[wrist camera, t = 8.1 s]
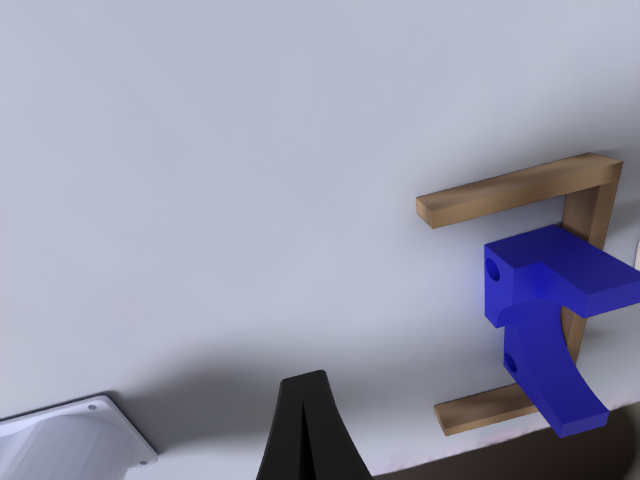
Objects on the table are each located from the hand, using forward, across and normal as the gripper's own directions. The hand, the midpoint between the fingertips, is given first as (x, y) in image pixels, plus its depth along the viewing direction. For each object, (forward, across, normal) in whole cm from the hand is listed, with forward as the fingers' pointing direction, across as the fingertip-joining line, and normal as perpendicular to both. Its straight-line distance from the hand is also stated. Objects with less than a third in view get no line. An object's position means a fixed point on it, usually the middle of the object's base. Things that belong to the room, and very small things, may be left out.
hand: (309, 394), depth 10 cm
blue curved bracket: (+10, -14, +9) cm, 19 cm away
